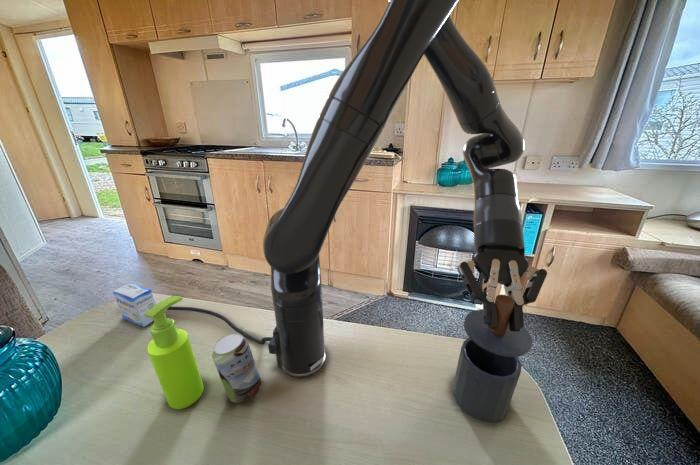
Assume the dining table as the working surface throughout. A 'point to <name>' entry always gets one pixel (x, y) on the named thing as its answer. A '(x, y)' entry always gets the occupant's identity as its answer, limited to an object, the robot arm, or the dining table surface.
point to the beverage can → (236, 367)
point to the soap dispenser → (173, 358)
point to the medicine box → (135, 303)
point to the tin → (485, 382)
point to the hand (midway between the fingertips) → (503, 329)
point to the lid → (498, 331)
